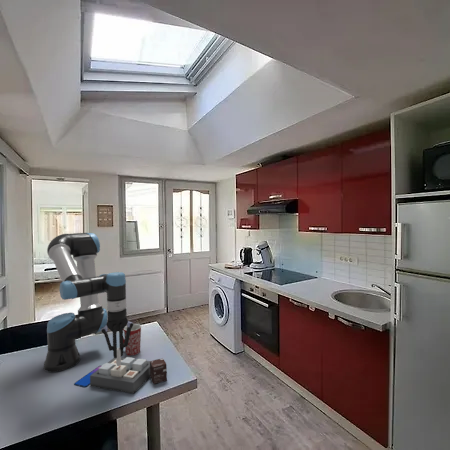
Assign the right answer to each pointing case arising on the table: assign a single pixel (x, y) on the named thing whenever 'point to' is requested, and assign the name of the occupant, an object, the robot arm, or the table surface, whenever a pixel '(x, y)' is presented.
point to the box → (158, 371)
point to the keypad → (120, 380)
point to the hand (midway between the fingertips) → (118, 364)
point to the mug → (133, 340)
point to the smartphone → (85, 379)
